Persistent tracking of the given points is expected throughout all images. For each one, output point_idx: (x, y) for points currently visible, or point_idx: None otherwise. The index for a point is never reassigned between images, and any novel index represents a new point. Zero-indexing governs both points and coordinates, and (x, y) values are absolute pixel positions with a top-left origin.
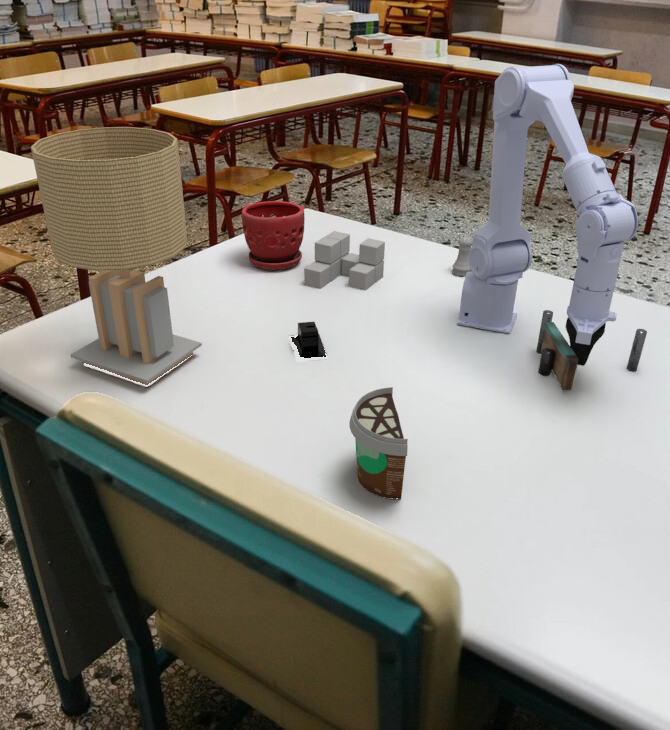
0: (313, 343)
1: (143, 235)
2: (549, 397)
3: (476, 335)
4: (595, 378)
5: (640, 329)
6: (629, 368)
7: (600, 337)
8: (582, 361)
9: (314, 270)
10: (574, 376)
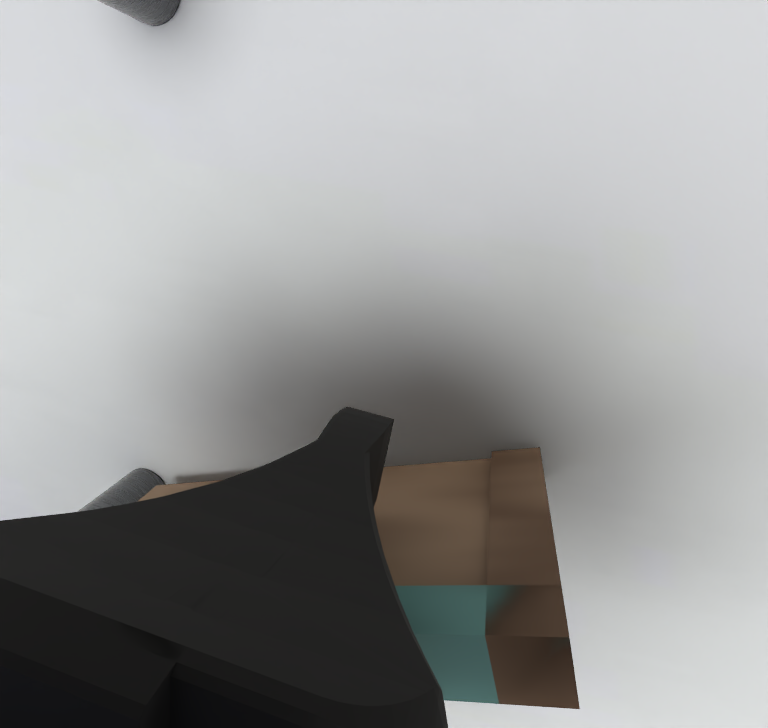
0: None
1: None
2: (583, 544)
3: None
4: (332, 260)
5: None
6: (167, 4)
7: (421, 654)
8: (381, 451)
9: None
10: (547, 507)
